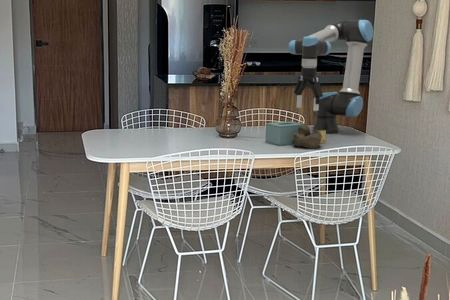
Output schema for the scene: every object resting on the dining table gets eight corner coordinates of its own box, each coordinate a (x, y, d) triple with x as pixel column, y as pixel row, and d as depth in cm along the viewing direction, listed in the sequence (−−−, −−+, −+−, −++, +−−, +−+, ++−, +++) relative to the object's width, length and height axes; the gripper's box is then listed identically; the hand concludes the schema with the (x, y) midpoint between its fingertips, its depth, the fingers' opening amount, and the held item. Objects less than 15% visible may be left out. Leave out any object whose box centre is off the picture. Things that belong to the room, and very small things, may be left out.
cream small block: (321, 143, 310) (322, 129, 308) (325, 143, 308) (325, 130, 306) (313, 144, 306) (313, 130, 305) (316, 144, 304) (317, 131, 303)
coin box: (289, 139, 318) (290, 121, 316) (304, 143, 308) (304, 124, 306) (265, 142, 309) (265, 123, 307) (279, 145, 299) (280, 126, 297)
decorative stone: (306, 139, 286) (288, 123, 296) (301, 158, 292) (284, 142, 302) (331, 135, 294) (313, 120, 304) (326, 153, 300) (308, 138, 310)
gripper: (288, 66, 309) (286, 106, 313) (319, 68, 288) (317, 112, 292) (299, 66, 313) (297, 106, 317) (331, 68, 292) (329, 111, 296)
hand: (307, 109), depth 304 cm, fingers open, 13 cm apart
